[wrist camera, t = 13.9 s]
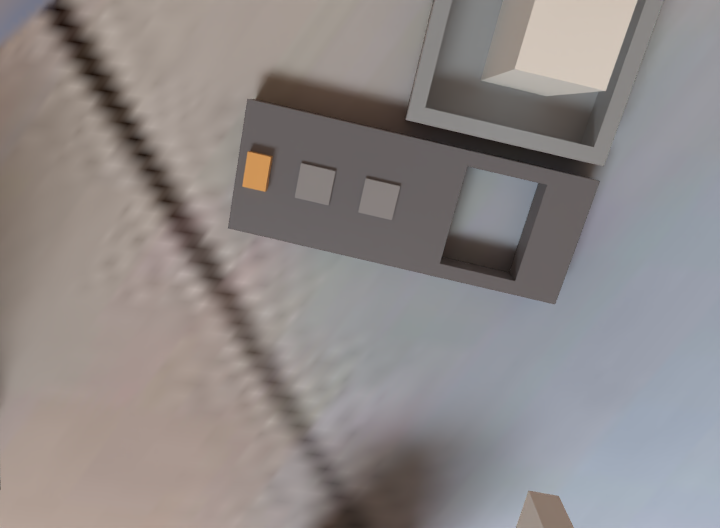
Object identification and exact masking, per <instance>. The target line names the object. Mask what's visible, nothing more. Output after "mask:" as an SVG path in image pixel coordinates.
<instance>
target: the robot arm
mask: <svg viewBox="0 0 720 528" xmlns="http://www.w3.org/2000/svg"><path fill="white" fill-rule="evenodd" d="M0 490H1V482H0ZM516 528H574V527H573V525H572V523H571V521H570V519H569V517H568V515H567V513H566V510H565V508H564V506H563V504H562V502H561V500H560V498H559V496H555V495H550V494H544V493H539V492H533V491H528V494H527V497H526V500H525V503H524V506H523V509H522V511H521V514H520V517H519V520H518V523H517V526H516Z"/></svg>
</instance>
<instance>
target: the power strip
mask: <svg viewBox="0 0 720 528" xmlns="http://www.w3.org/2000/svg"><path fill="white" fill-rule="evenodd" d="M467 166H469V167H473V168H477V169H481V170H486V171H490V172H494V173H499V174H503V175H507V176H511V177H516V178H520V179H524V180H528V181H533V182H537V183H538V186H537V189H536V192H535V195H534V198H533V201H532V204H531V207H530V211H529V214H528V217H527V220H526V223H525V226H524V229H523V232H522V235H521V238H520V241H519V244H518V247H517V250H516V253H515V256H514V259H513V262H512V265H511V268H510V272H509V273H508V272H504V271H500V270H496V269H491V268H487V267H483V266H478V265H474V264H470V263H466V262H461V261H457V260H453V259H448V258H444V257H442V254H443V251H444V247H445V244H446V240H447V237H448V233H449V229H450V226H451V222H452V219H453V215H454V212H455V208H456V205H457V201H458V198H459V194H460V191H461V187H462V184H463V180H464V177H465V173H466V170H467ZM599 182H600V181H597V180H594V179H591V178H588V177H584V176H580V175H576V174H571V173H567V172H563V171H559V170H554V169H550V168H546V167H541V166H537V165H533V164H529V163H524V162H520V161H516V160H512V159H507V158H503V157H499V156H495V155H490V154H486V153H482V152H477V151H473V150H469V149H465V148H460V147H456V146H452V145H448V144H443V143H439V142H435V141H431V140H426V139H422V138H418V137H413V136H409V135H405V134H401V133H396V132H392V131H388V130H384V129H379V128H375V127H371V126H367V125H362V124H358V123H354V122H349V121H345V120H341V119H337V118H332V117H328V116H324V115H320V114H315V113H311V112H307V111H303V110H298V109H294V108H290V107H285V106H281V105H277V104H273V103H268V102H264V101H260V100H256V99H247V105H246V112H245V118H244V125H243V132H242V138H241V145H240V152H239V158H238V165H237V172H236V178H235V185H234V192H233V198H232V205H231V212H230V218H229V225H228V228H229V229H234V230H238V231H242V232H247V233H251V234H255V235H259V236H264V237H268V238H272V239H277V240H281V241H285V242H289V243H294V244H298V245H302V246H307V247H311V248H315V249H320V250H324V251H328V252H332V253H337V254H341V255H345V256H350V257H354V258H358V259H362V260H367V261H371V262H375V263H380V264H384V265H388V266H393V267H397V268H401V269H405V270H410V271H414V272H418V273H423V274H427V275H431V276H435V277H440V278H444V279H448V280H453V281H457V282H461V283H466V284H470V285H474V286H478V287H483V288H487V289H491V290H496V291H500V292H504V293H508V294H513V295H517V296H521V297H526V298H530V299H534V300H539V301H543V302H547V303H551V304H555V303H556V300H557V298H558V295H559V292H560V289H561V287H562V284H563V281H564V278H565V276H566V273H567V270H568V267H569V265H570V262H571V259H572V256H573V254H574V251H575V248H576V245H577V243H578V240H579V237H580V234H581V232H582V229H583V226H584V223H585V221H586V218H587V215H588V212H589V210H590V207H591V204H592V201H593V199H594V196H595V193H596V190H597V188H598V185H599Z"/></svg>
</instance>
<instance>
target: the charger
mask: <svg viewBox="0 0 720 528" xmlns="http://www.w3.org/2000/svg"><path fill="white" fill-rule="evenodd" d="M637 1H638V0H503V2H502V6H501V9H500V13H499V16H498V20H497V23H496V27H495V31H494V34H493V38H492V41H491V45H490V48H489V52H488V56H487V59H486V63H485V66H484V70H483V73H482V77H481V81H484V82H488V83H493V84H497V85H501V86H505V87H509V88H514V89H518V90H522V91H526V92H530V93H535V94H539V95H543V96H554V95H566V94H577V93H588V92H599V91H606V89H607V86H608V83H609V80H610V77H611V75H612V72H613V69H614V66H615V63H616V60H617V58H618V55H619V52H620V49H621V46H622V43H623V40H624V38H625V35H626V32H627V29H628V26H629V23H630V20H631V18H632V15H633V12H634V9H635V6H636V3H637Z"/></svg>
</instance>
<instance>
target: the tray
mask: <svg viewBox="0 0 720 528" xmlns="http://www.w3.org/2000/svg"><path fill="white" fill-rule="evenodd" d="M502 2H503V0H434V1H433V5H432V9H431V13H430V17H429V21H428V26H427V30H426V34H425V38H424V42H423V46H422V50H421V55H420V59H419V63H418V67H417V71H416V75H415V80H414V84H413V88H412V92H411V96H410V100H409V104H408V109H407V113H406V117H405V120H408V121H412V122H417V123H421V124H425V125H429V126H434V127H438V128H442V129H447V130H451V131H455V132H459V133H464V134H468V135H472V136H476V137H481V138H485V139H489V140H493V141H498V142H502V143H506V144H510V145H515V146H519V147H523V148H528V149H532V150H536V151H540V152H545V153H549V154H553V155H557V156H562V157H566V158H570V159H574V160H579V161H583V162H587V163H591V164H596V165H600V166H604V164H605V162H606V159H607V156H608V153H609V151H610V148H611V145H612V142H613V140H614V137H615V134H616V131H617V129H618V126H619V123H620V120H621V118H622V115H623V112H624V109H625V107H626V104H627V101H628V98H629V96H630V93H631V90H632V87H633V85H634V82H635V79H636V76H637V73H638V71H639V68H640V65H641V62H642V60H643V57H644V54H645V51H646V49H647V46H648V43H649V40H650V38H651V35H652V32H653V29H654V27H655V24H656V21H657V18H658V16H659V13H660V10H661V7H662V5H663V2H664V0H638V1H637V3H636V6H635V9H634V12H633V15H632V18H631V20H630V23H629V26H628V29H627V32H626V35H625V38H624V40H623V43H622V46H621V49H620V52H619V55H618V58H617V60H616V63H615V66H614V69H613V72H612V75H611V77H610V80H609V83H608V86H607V89H606V91H599V92H588V93H577V94H566V95H554V96H543V95H539V94H535V93H530V92H526V91H522V90H518V89H514V88H509V87H505V86H501V85H497V84H493V83H488V82H484V81H481V77H482V73H483V70H484V66H485V63H486V59H487V56H488V52H489V48H490V45H491V41H492V38H493V34H494V31H495V27H496V23H497V20H498V16H499V13H500V9H501V6H502Z"/></svg>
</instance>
